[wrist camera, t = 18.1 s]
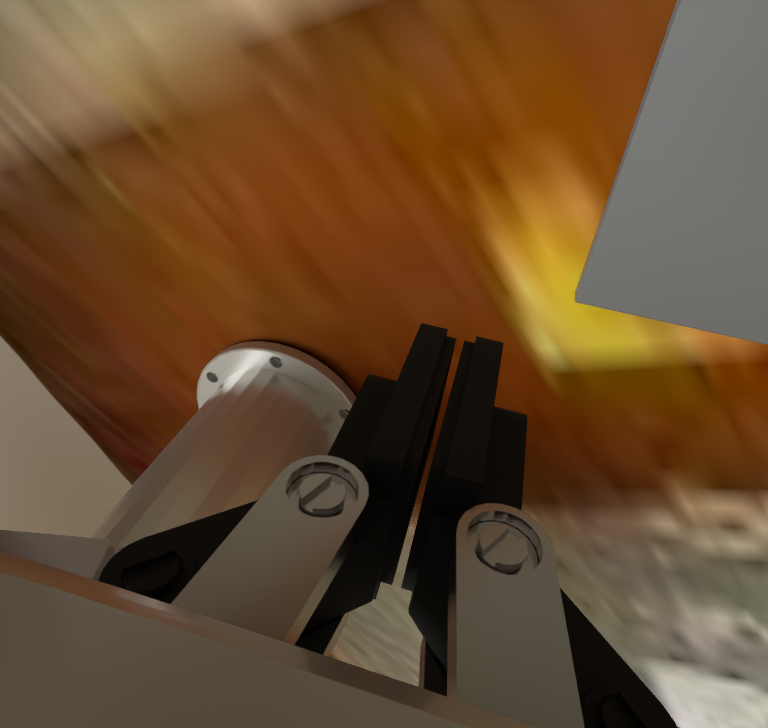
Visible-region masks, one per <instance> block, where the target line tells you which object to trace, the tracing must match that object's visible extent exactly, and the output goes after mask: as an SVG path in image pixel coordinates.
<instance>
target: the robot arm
mask: <svg viewBox="0 0 768 728" xmlns="http://www.w3.org/2000/svg"><path fill="white" fill-rule="evenodd" d="M447 331H448V329H444V328H440V327H436V326H432V325H427V324H423V323H421V325H420V328H419V330H418V333H417V335H416V337H415V340H414V342H413V344H412V347H411V349H410V352H409V354H408V356H407V359H406V361H405V363H404V366H403V368H402V371H401V373H400V375H399V378H398V380H397V381H394V380H390V379H386V378H382V377H378V376H374V375H368V376H367V378H366V380H365V381H364V383H363V385H362V387H361V389H360V391H359V393H358V395H357V397H356V396H355V395H354V393H353V392H352V391H351V389H350V388H349V387H348V386H347V385H346V384H345V382H344V381H343V380H342V379H341V378H340V377H339V376H338V375H336V374H335V373H334V372H333V371H332V370H331V369H330V368H329V367H327V366H326V365H324V364H323V363H321V362H320V361H318V360H317V359H315V358H313V357H312V356H310V355H308V354H305V353H303V352H301V351H299V350H297V349H295V348H291V347H288V346H285V345H281V344H278V343H271V342H264V341H253V342H243V343H239V344H235V345H231V346H229V347H228V348H226V349H224V350H222V351H220V352H219V353H218V354H217V355H216V356H215V357H214V358H213V359H212V360H211V361H210V362H209V363H208V364H207V365H206V367H205V368H204V369H203V371H202V372H201V375H200V378H199V381H198V385H197V400H198V407H199V410H198V411H197V412H196V414H195V415H194V416H193V417H192V418H191V419H190V420H189V422H188V423H187V424H186V425H185V426H184V427H183V428H182V430H181V431H180V432H179V433H178V434H177V435H176V436H175V438H174V439H173V440H172V441H171V442H170V443H169V444H168V445H167V447H166V448H165V449H164V450H163V451H162V452H161V453H160V455H159V456H158V457H157V458H156V459H155V460H154V461H153V463H152V464H151V465H150V466H149V467H148V468H147V469H146V471H145V472H144V473H143V474H142V475H141V476H140V477H139V478H138V480H137V481H136V482H135V483H134V484H133V485H132V486H131V488H130V489H129V490H128V491H127V492H126V493H125V494H124V496H123V497H122V498H121V499H120V500H119V501H118V502H117V504H116V505H115V506H114V507H113V508H112V509H111V510H110V512H109V513H108V514H107V515H106V516H105V517H104V518H103V519H102V521H101V522H100V523H99V524H98V525H97V527H96V528H95V529H94V530H93V531H92V532H91V533H90V534H89V535H88V537H76V536H64V535H53V534H42V533H41V534H40V533H30V532H18V531H8V530H0V728H679V727H677V726H676V724H675V722H674V720H673V719H672V718H671V716H670V715H669V713H668V712H667V711H666V709H665V708H664V706H663V705H662V704H661V703H660V701H659V700H658V699H657V698H656V697H655V696H654V695H653V693H652V692H651V691H650V690H649V689H648V688H647V687H646V685H645V684H644V683H643V682H642V681H641V680H640V679H639V677H638V676H637V675H636V674H635V673H634V672H633V671H632V669H631V668H630V667H629V666H628V665H627V664H626V663H625V661H624V660H623V659H622V658H621V657H620V656H619V655H618V653H617V652H616V651H615V650H614V649H613V648H612V647H611V645H610V644H609V643H608V642H607V641H606V640H605V639H604V637H603V636H602V635H601V634H600V633H599V632H598V631H597V629H596V628H595V627H594V626H593V625H592V624H591V623H590V621H589V620H588V619H587V618H586V617H585V616H584V615H583V613H582V612H581V611H580V610H579V609H578V608H577V607H576V605H575V604H574V603H573V602H572V601H571V600H570V599H569V597H568V596H567V595H566V594H565V593H564V592H563V591H562V589H561V588H560V586H559V580H558V575H557V569H556V563H555V558H554V552H553V548H552V545H551V542H550V539H549V537H548V535H547V534H546V532H545V531H544V530H543V528H542V527H541V525H540V524H539V523H537V522H536V521H535V520H534V519H533V518H532V517H530V516H529V515H528V514H526V513H524V512H522V511H521V507H522V492H523V477H524V461H525V446H526V430H527V415H526V414H522V413H518V412H514V411H510V410H506V409H503V408H499V407H495V406H494V402H495V396H496V389H497V382H498V376H499V369H500V363H501V356H502V349H503V343H502V342H498V341H494V340H490V339H486V338H481V337H476V341H475V343H472V342H468V341H464V345H463V349H462V352H461V356H460V360H459V364H458V367H457V371H456V375H455V378H454V382H453V386H452V390H451V393H450V397H449V401H448V405H447V408H446V412H445V416H444V419H443V423H442V427H441V431H440V434H439V438H438V442H437V446H436V449H435V453H434V457H433V461H432V464H431V468H430V472H429V476H428V480H427V484H426V488H425V492H424V497H423V501H422V505H421V509H420V513H419V517H418V521H417V525H416V529H415V533H414V538H413V542H412V546H411V550H410V554H409V558H408V562H407V566H406V570H405V575H404V579H403V583H402V587H401V588H403V589H407V590H410V591H413V593H412V597H411V601H410V605H409V609H408V610H409V614H410V616H411V617H412V619H413V621H414V622H415V624H416V625H417V627H418V629H419V630H420V632H421V633H422V635H423V639H422V644H421V651H420V671H419V687H417V686H414V685H411V684H408V683H405V682H402V681H399V680H396V679H393V678H390V677H387V676H384V675H381V674H378V673H375V672H372V671H369V670H366V669H363V668H360V667H357V666H354V665H351V664H348V663H345V662H342V661H339V660H336V659H333V658H330V657H329V656H330V654H331V652H332V650H333V648H334V646H335V644H336V643H337V641H338V639H339V637H340V635H341V633H342V631H343V629H344V627H345V625H346V623H347V620H348V617H349V614H350V611H352V610H354V609H356V608H358V607H360V606H362V605H365V604H367V603H369V602H371V601H372V600H373V599H376V596H377V593H378V590H379V586H380V583H381V582H384V583H387V584H391V585H392V583H393V579H394V576H395V572H396V569H397V565H398V562H399V558H400V555H401V551H402V547H403V544H404V540H405V537H406V533H407V530H408V526H409V523H410V519H411V515H412V512H413V508H414V505H415V501H416V498H417V494H418V490H419V487H420V483H421V480H422V476H423V473H424V469H425V465H426V462H427V458H428V455H429V451H430V447H431V443H432V439H433V435H434V431H435V427H436V423H437V418H438V414H439V410H440V406H441V402H442V397H443V393H444V389H445V385H446V380H447V376H448V372H449V368H450V364H451V359H452V355H453V351H454V347H455V342H456V339H455V338H451V337H447Z"/></svg>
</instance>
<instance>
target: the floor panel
mask: <svg viewBox="0 0 768 728" xmlns="http://www.w3.org/2000/svg"><path fill="white" fill-rule="evenodd" d="M575 302H577V303H582V304H586V305H591V306H595V307H600V308H604V309H609V310H613V311H618V312H622V313H627V314H632V315H636V316H641V317H645V318H650V319H654V320H659V321H663V322H668V323H672V324H677V325H681V326H686V327H690V328H695V329H699V330H704V331H708V332H713V333H717V334H722V335H726V336H731V337H735V338H740V339H744V340H749V341H753V342H758V343H762V344H767V345H768V0H677V2H676V5H675V7H674V10H673V13H672V16H671V19H670V22H669V25H668V27H667V30H666V33H665V36H664V39H663V42H662V45H661V48H660V50H659V53H658V56H657V59H656V62H655V65H654V68H653V71H652V73H651V76H650V79H649V82H648V85H647V88H646V91H645V94H644V96H643V99H642V102H641V105H640V108H639V111H638V114H637V116H636V119H635V122H634V125H633V128H632V131H631V134H630V137H629V139H628V142H627V145H626V148H625V151H624V154H623V157H622V160H621V162H620V165H619V168H618V171H617V174H616V177H615V180H614V183H613V185H612V188H611V191H610V194H609V197H608V200H607V203H606V206H605V208H604V211H603V214H602V217H601V220H600V223H599V226H598V228H597V231H596V234H595V237H594V240H593V243H592V246H591V249H590V251H589V254H588V257H587V260H586V263H585V266H584V269H583V272H582V274H581V277H580V280H579V283H578V286H577V289H576V292H575Z"/></svg>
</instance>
